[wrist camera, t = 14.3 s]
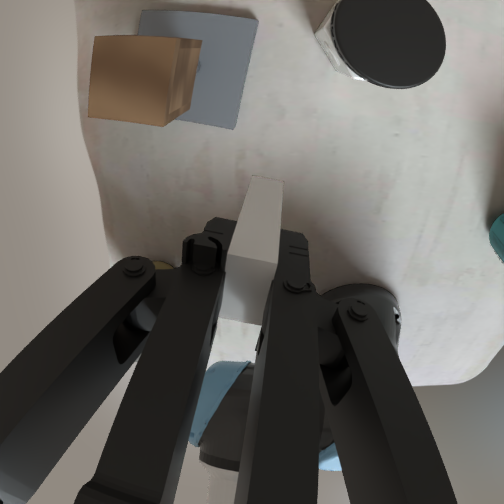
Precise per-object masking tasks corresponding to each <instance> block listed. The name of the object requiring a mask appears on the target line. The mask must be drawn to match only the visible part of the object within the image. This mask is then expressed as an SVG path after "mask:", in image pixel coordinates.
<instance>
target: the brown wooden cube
mask: <svg viewBox="0 0 504 504" xmlns="http://www.w3.org/2000/svg"><path fill="white" fill-rule="evenodd" d="M201 45H202V40H198V39H188V38H178V37H165V36H145V35H113V36H95V38H94V46H93V54H92V64H91V74H90V87H89V104H88V117H91V118H101V119H109V120H118V121H126V122H133V123H140V124H147V125H154V126H160V127H164V126H165V125H167V124H168V123H170V122H171V121H173V120H174V119H176V118H177V117H179V116H180V115H182V114H183V113H185V112H186V111H188V110H189V109H190V106H191V100H192V94H193V88H194V82H195V76H196V71H197V66H198V60H199V55H200V50H201Z"/></svg>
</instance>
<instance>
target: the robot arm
mask: <svg viewBox="0 0 504 504" xmlns="http://www.w3.org/2000/svg"><path fill="white" fill-rule="evenodd" d="M283 186H284V181H280V180H275V179H270V178H265V177H260V176H254V175H252V178H251V181H250V184H249V187H248V191H247V194H246V197H245V200H244V203H243V206H242V209H241V212H240V215H239V218H238V221H233V220H228V219H223V218H217V217H215V218H213V219H212V220H210V221H209V222H207V224H206V226H205V228H204V231H203V233H200V234H193V235H191V236H189V237H187V238H186V239H185V240H184V241H183V249H182V265H181V266H180V267H178V268H174V269H155V265H154V264H153V262H152V261H151V260H149V259H147V258H145V257H141V256H130V257H127V258H123V259H122V260H120V261H118V262H117V263H116V264H115V265H114V266H112V267H111V268H110V269H109V270H108V271H107V272H106V273H104V274H103V275H102V276H101V277H100V278H99V279H98V280H96V281H95V282H94V283H93V284H92V285H91V286H90V287H89V288H87V289H86V290H85V291H84V292H83V293H82V294H81V295H80V296H78V297H77V298H76V299H75V300H74V301H73V302H72V303H71V304H70V305H69V306H68V307H66V308H65V309H64V310H63V311H62V312H61V313H60V314H59V315H58V316H57V317H56V318H55V319H54V320H53V321H52V322H50V323H49V324H48V325H47V326H46V327H45V328H44V329H43V330H42V331H41V332H40V333H39V334H38V335H37V336H36V337H35V338H34V339H33V340H32V341H31V342H30V343H29V344H28V345H27V346H26V347H25V348H24V349H23V350H22V351H21V352H20V353H19V354H18V355H17V356H16V357H15V358H14V359H13V360H12V361H11V363H9V364H8V366H7V367H6V368H5V369H4V370H3V371H2V372H1V373H0V504H25V503H27V502H28V500H29V499H30V498H31V497H32V496H33V494H34V493H35V492H36V491H37V489H38V488H39V487H40V485H41V484H42V483H43V481H44V480H45V478H46V477H47V476H48V474H49V473H50V472H51V470H52V469H53V468H54V466H55V465H56V464H57V462H58V461H59V460H60V458H61V457H62V456H63V454H64V453H65V451H66V450H67V449H68V447H69V446H70V445H71V443H72V442H73V441H74V440H75V438H76V437H77V436H78V434H79V433H80V432H81V430H82V429H83V428H84V426H85V425H86V424H87V422H88V421H89V420H90V418H91V417H92V416H93V414H94V413H95V412H96V411H97V409H98V408H99V407H100V405H101V404H102V403H103V401H104V400H105V399H106V398H107V396H108V395H109V394H110V392H111V391H112V390H113V389H114V387H115V386H116V385H117V383H118V382H119V381H120V379H121V378H122V377H123V376H124V374H125V373H126V372H127V371H128V369H129V368H130V367H131V365H132V364H133V363H134V362H135V360H136V359H137V358H138V357H139V355H140V354H141V355H140V358H139V360H138V363H137V365H136V368H135V370H134V372H133V375H132V377H131V379H130V382H129V384H128V387H127V389H126V392H125V394H124V397H123V399H122V402H121V404H120V407H119V409H118V412H117V415H116V417H115V420H114V423H113V425H112V428H111V431H110V433H109V436H108V439H107V441H106V444H105V447H104V449H103V452H102V455H101V458H100V460H99V463H98V466H97V469H96V472H95V474H94V476H93V478H92V479H91V480H90V481H89V482H87V483H86V484H85V485H83V487H82V488H81V489H80V491H79V492H78V495H77V497H76V499H75V502H74V504H173V502H174V498H175V494H176V490H177V485H178V481H179V477H180V473H181V469H182V464H183V460H184V456H185V452H186V448H187V444H188V441H189V442H190V443H191V444H192V445H194V446H195V447H200V456H199V462H200V463H201V464H202V465H203V466H204V468H205V469H206V470H207V471H208V472H209V474H210V479H209V488H208V496H207V504H317V495H318V470H319V468H320V469H322V470H330V471H341V470H342V473H343V476H344V480H345V484H346V488H347V492H348V496H349V500H350V504H457V501H456V498H455V494H454V492H453V489H452V486H451V483H450V480H449V477H448V475H447V471H446V469H445V466H444V463H443V461H442V458H441V455H440V453H439V450H438V447H437V445H436V442H435V440H434V437H433V435H432V432H431V430H430V427H429V425H428V422H427V420H426V418H425V415H424V413H423V411H422V408H421V406H420V404H419V401H418V399H417V397H416V394H415V392H414V390H413V388H412V385H411V383H410V381H409V379H408V377H407V374H406V372H405V370H404V368H403V366H402V364H401V362H400V359H399V356H398V343H399V336H400V329H401V314H400V310H399V306H398V303H397V301H396V299H395V298H394V296H393V295H392V294H391V293H389V292H388V291H387V290H385V289H383V288H381V287H378V286H374V285H369V284H351V285H346V286H342V287H338V288H335V289H333V290H331V291H329V292H327V293H325V294H323V295H322V296H320V295H319V294H317V293H316V289H315V286H314V284H313V283H312V282H311V281H310V268H309V251H308V241H307V239H306V238H305V236H304V235H303V234H302V233H298V232H293V231H288V230H283V229H280V228H281V215H282V201H283ZM218 316H219V317H220V318H225V319H230V320H235V321H240V322H245V323H250V324H255V325H261V324H262V327H261V331H260V334H259V338H258V341H257V345H256V349H255V351H257V353H256V360H255V363H251V361H246V362H234V361H219V362H216V363H214V364H213V365H211V366H210V367H209V368H208V370H207V371H206V368H207V364H208V360H209V356H210V352H211V348H212V344H213V340H214V336H215V333H216V329H217V321H218Z"/></svg>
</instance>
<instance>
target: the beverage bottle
mask: <svg viewBox="0 0 504 504" xmlns="http://www.w3.org/2000/svg"><path fill="white" fill-rule="evenodd" d="M489 240H490V243H491V246H492V247H493V249H494V250H495V251H494V252H496V255H497V254H498V256H499V257H500V258H499V257H498V258H499V259H501V260H502V261H501V262H503V263H504V213H503V214H502V215H500V216H499V217H498V218H497V219H496V220H495V221H494V223H493V224H492V226H491V229H490V233H489ZM492 247H491V248H492Z"/></svg>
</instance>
